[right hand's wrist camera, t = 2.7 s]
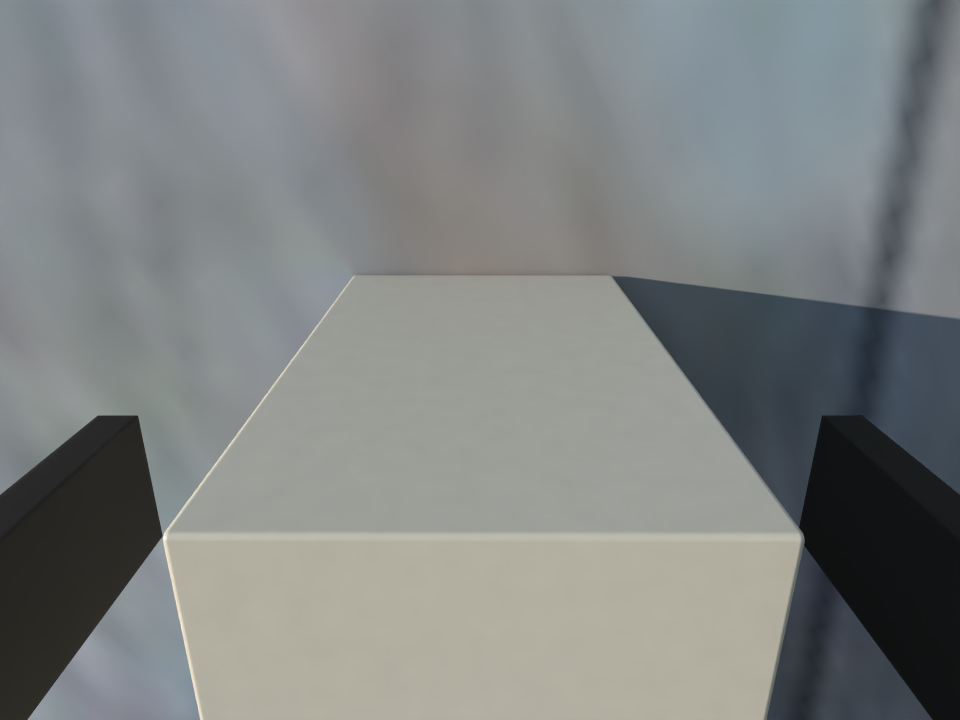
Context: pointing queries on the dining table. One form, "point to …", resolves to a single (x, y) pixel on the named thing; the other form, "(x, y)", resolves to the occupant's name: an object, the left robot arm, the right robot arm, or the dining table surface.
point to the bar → (483, 522)
